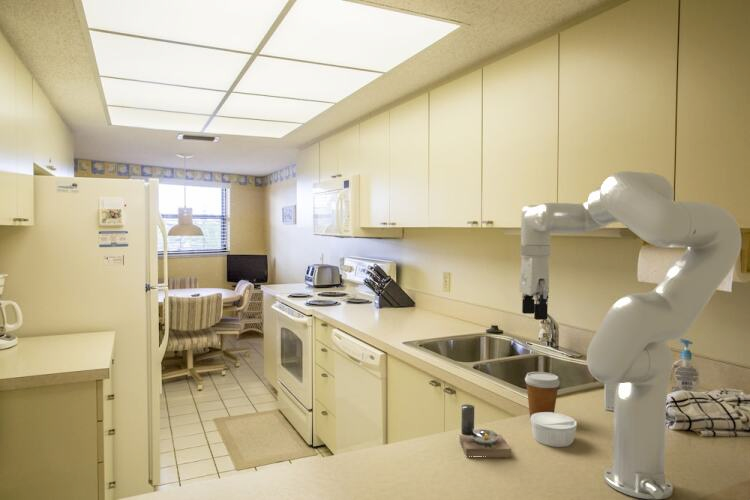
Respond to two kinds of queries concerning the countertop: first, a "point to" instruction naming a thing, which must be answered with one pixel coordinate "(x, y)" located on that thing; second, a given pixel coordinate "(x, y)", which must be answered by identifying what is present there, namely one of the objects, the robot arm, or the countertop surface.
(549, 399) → the disposable coffee cup
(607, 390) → the skincare box
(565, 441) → the ramekin
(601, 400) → the countertop surface
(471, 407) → the capstan dial
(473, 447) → the level stand
